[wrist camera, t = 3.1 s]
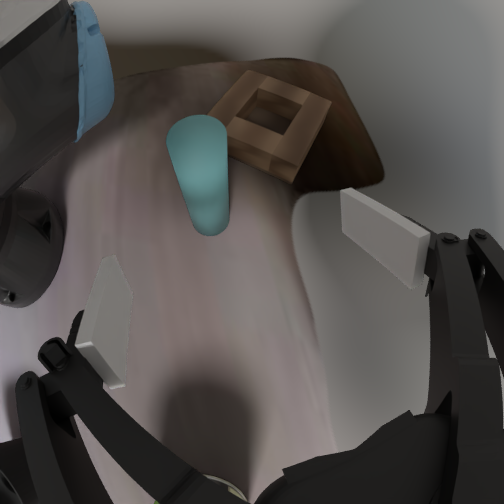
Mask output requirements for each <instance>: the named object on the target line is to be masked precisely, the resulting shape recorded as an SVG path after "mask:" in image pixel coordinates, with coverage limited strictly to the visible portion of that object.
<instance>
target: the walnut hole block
mask: <svg viewBox="0 0 504 504" xmlns="http://www.w3.org/2000/svg"><path fill="white" fill-rule="evenodd" d="M331 103H332V102H331V101H329V100H327V99H325V98H322V97H320V96H318V95H316V94H313V93H311V92H308V91H306V90H304V89H301V88H299V87H296V86H294V85H291V84H289V83H286V82H283V81H281V80H278V79H275V78H272V77H269V76H267V75H264V74H261V73H258V72H255V71H252V70H247V71H246V72H245V73H244V74H243V75H242V76H241V77H240V78H239V79H238V80H237V81H236V82H235V83H234V85H233V86H232V87H231V88H230V89H229V90H228V91H227V92H226V93H225V94H224V96H223V97H222V98H221V99H220V100H219V101H218V102H217V103H216V105H215V106H214V107H213V108H212V109H211V110H210V112H209V113H208V114H207V116H211V117H214V118H216V119H218V120H219V121H220V122H221V123H222V124H223V125H224V126H225V128H226V131H227V156H229V157H231V158H233V159H236V160H238V161H240V162H243V163H245V164H247V165H250V166H252V167H254V168H256V169H258V170H261V171H263V172H265V173H267V174H269V175H272V176H274V177H276V178H278V179H280V180H282V181H284V182H286V183H288V184H292V182H293V181H294V179H295V177H296V175H297V173H298V171H299V169H300V167H301V165H302V163H303V161H304V159H305V157H306V156H307V154H308V152H309V150H310V148H311V146H312V144H313V142H314V140H315V138H316V136H317V134H318V132H319V130H320V129H321V127H322V125H323V123H324V121H325V118H326V116H327V113H328V111H329V108H330V106H331Z"/></svg>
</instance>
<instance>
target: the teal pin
mask: <svg viewBox="0 0 504 504" xmlns="http://www.w3.org/2000/svg"><path fill="white" fill-rule="evenodd" d="M166 145H167V148H168V151H169V155H170V158H171V161H172V164H173V167H174V170H175V173H176V176H177V179H178V182H179V185H180V188H181V191H182V194H183V197H184V200H185V203H186V206H187V209H188V211H189V214H190V217H191V220H192V223H193V226H194V228H195V229H196V230H197V231H198V232H199V233H201V234H203V235H206V236H214V235H218V234H220V233H221V232H223V231H224V230H225V229H226V227H227V225H228V223H229V196H228V160H227V131H226V128H225V126H224V125H223V124H222V123H221V122H220V121H219V120H218V119H216V118H214V117H211V116H207V115H193V116H189V117H186V118H183V119H181V120H180V121H178V122H177V123H175V124H174V125H173V126H172V127H171V129H170V130H169V132H168V134H167V137H166Z"/></svg>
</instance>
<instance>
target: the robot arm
mask: <svg viewBox="0 0 504 504" xmlns="http://www.w3.org/2000/svg"><path fill="white" fill-rule="evenodd" d="M113 102H114V81H113V74H112V69H111V64H110V60H109V55H108V52H107V48H106V44H105V41H104V37H103V35H102V34H101V33H100V28H99V24H98V20H97V17H96V14H95V12H94V10H93V9H92V7H91V6H90V4H89V3H88V2H85V1H80V2H73V3H71V5H69V4H68V1H67V0H0V304H2V305H5V306H9V307H14V308H22V307H26V306H28V305H30V304H32V303H34V302H35V301H36V300H37V299H39V298H40V297H41V296H42V294H43V293H44V292H45V291H46V290H47V288H48V287H49V285H50V283H51V282H52V280H53V278H54V276H55V273H56V271H57V268H58V265H59V262H60V258H61V254H62V248H63V226H62V221H61V217H60V215H59V212H58V210H57V209H56V207H55V206H54V205H53V204H52V203H51V202H50V201H49V200H48V199H47V198H46V197H44V196H43V195H42V194H40V193H38V192H36V191H33V190H29V189H25V188H21V187H19V186H20V185H21V184H22V183H23V182H24V181H25V180H26V179H27V178H29V177H30V176H31V175H32V174H33V173H34V172H35V171H37V170H38V169H39V168H40V167H41V166H42V165H44V164H45V163H46V162H47V161H48V160H50V159H51V158H52V157H53V156H55V155H56V154H57V153H59V152H60V151H61V150H62V149H64V148H65V147H66V146H68V145H69V144H70V143H72V142H74V143H75V142H77V141H79V139H80V138H81V137H82V135H83V134H84V133H85V132H87V131H88V130H89V129H91V128H92V127H94V126H95V125H96V124H98V123H99V122H101V121H102V120H103V119H104V118H105V117H106V116H107V115H108V114H109V112H110V110H111V108H112V106H113ZM340 197H341V217H342V232H343V233H344V234H345V235H347V236H348V237H349V238H351V239H352V240H353V241H354V242H355V243H357V244H358V245H359V246H360V247H362V248H363V249H364V250H365V251H366V252H368V253H369V254H370V255H372V256H373V257H374V258H375V259H376V260H377V261H378V262H380V263H381V264H382V265H383V266H384V267H385V268H387V269H388V270H389V271H390V272H391V273H392V274H394V275H395V276H396V277H397V278H398V279H399V280H401V281H402V282H403V283H404V284H405V285H406V286H407V287H409V289H411V290H412V289H414V288H416V287H418V286H420V285H421V284H422V282H423V277H424V274H426V275H427V276H428V277H429V281H428V286H427V290H426V295H425V297H427V296H428V293H429V307H430V338H431V339H430V340H431V341H430V376H429V392H428V401H427V406H426V409H425V412H424V414H419V415H415V416H413V415H412V413H411V412H410V410H408V411H407V412H405V413H403V414H402V415H400V416H398V417H397V418H395V419H393V420H392V421H390V422H388V423H386V424H384V425H383V426H381V427H380V428H379V429H378V430H377V431H376V432H375V433H374V434H373V435H372V436H370V437H369V438H368V439H367V440H366V441H364V442H363V443H362V444H361V445H359V446H358V447H357V448H355V449H353V450H349V451H344V452H340V453H335V454H329V455H324V456H318V457H315V458H312V459H309V460H307V461H304V462H301V463H299V464H296V465H293V466H290V467H287V468H284V469H282V470H283V473H284V475H285V476H284V475H283V476H282V477H280V478H279V479H277V480H276V481H274V482H273V483H272V484H270V485H269V486H268V487H267V488H266V489H265V490H264V491H263V492H262V493H261V494H260V496H259V497H258V498H257V500H256V501H255V503H254V504H504V429H503V401H502V387H501V377H500V368H501V371H502V374H503V377H504V250H503V249H502V248H501V247H500V245H499V244H498V243H497V242H496V241H495V239H494V238H493V237H492V236H491V235H490V234H489V233H488V232H486V231H484V230H483V229H482V230H481V229H472V230H470V233H469V238H468V239H464V240H460V238H459V237H457V236H456V235H453V234H451V233H440V234H436V233H434V232H433V231H431V230H429V229H428V228H426V227H424V226H423V225H421V224H419V223H418V222H416V221H414V220H413V219H411V218H409V217H407V216H403V215H400V214H398V213H396V212H395V211H393V210H391V209H389V208H387V207H386V206H384V205H382V204H380V203H378V202H377V201H375V200H373V199H371V198H369V197H367V196H366V195H364V194H362V193H360V192H358V191H356V190H354V189H352V188H348V189H343V190H340ZM484 268H485V275H484V274H483V272H484ZM132 302H133V292H132V290H131V288H130V286H129V284H128V282H127V280H126V278H125V276H124V274H123V271H122V269H121V267H120V265H119V263H118V260H117V258H116V256H115V254H113V255H110V256H107V257H104V258H102V261H101V264H100V266H99V269H98V272H97V275H96V277H95V280H94V283H93V286H92V289H91V292H90V295H89V298H88V301H87V304H86V307H85V310H82V311H79V313H78V314H77V315H76V317H75V318H74V320H73V323H72V326H71V327H72V328H71V330H70V335H69V336H68V340H67V343H66V344H65V343H64V341H63V340H62V339H61V338H59V337H54V338H51V339H49V340H48V341H46V342H45V343H44V344H43V345H42V346H41V348H40V350H39V352H38V360H39V361H40V362H41V363H42V364H43V366H44V367H45V368H46V369H47V370H48V371H49V373H47V374H45V375H43V376H41V377H40V378H39V377H38V376H37V375H36V374H35V373H34V372H32V371H28V372H26V373H24V374H23V375H21V376H20V378H19V379H18V381H17V383H16V387H15V392H16V402H17V410H18V417H19V424H20V430H21V435H22V440H23V445H24V450H25V454H26V458H27V462H28V466H29V470H30V474H31V477H32V481H33V484H34V487H35V490H36V493H37V496H38V499H39V502H40V504H114V503H113V502H112V500H111V498H110V496H109V495H108V493H107V491H106V489H105V487H104V485H103V483H102V481H101V479H100V477H99V475H98V473H97V471H96V469H95V467H94V465H93V463H92V461H91V458H90V456H89V454H88V452H87V449H86V447H85V445H84V442H83V440H82V437H81V435H80V432H79V430H78V427H77V424H76V421H75V419H74V416H73V415H75V414H78V416H79V417H80V418H81V420H82V421H83V422H84V424H85V425H86V426H87V428H88V429H89V430H90V432H91V433H92V434H93V435H94V437H95V438H96V439H97V440H98V441H99V443H100V444H101V445H102V446H103V447H104V448H105V450H106V451H107V452H108V453H109V454H110V455H111V456H112V458H113V459H114V460H115V461H116V462H117V463H118V464H119V465H120V466H121V467H122V468H123V469H124V470H125V471H126V472H127V474H128V475H129V476H130V477H131V478H132V479H133V480H135V481H136V482H137V483H138V484H139V485H140V486H141V487H142V488H143V489H144V490H145V491H146V492H147V493H148V494H149V495H150V496H152V497H153V498H154V499H155V500H156V501H157V502H158V503H159V504H250V503H248V502H247V501H245V500H243V499H241V498H239V497H238V496H236V495H234V494H233V493H231V492H229V491H228V490H226V489H224V488H223V487H221V486H220V485H218V484H216V483H215V482H213V481H212V480H210V479H209V478H207V477H206V476H204V475H203V474H201V473H200V472H198V471H197V470H195V469H194V468H192V467H191V466H190V465H188V464H187V463H186V462H184V461H183V460H182V459H180V458H179V457H178V456H176V455H175V454H174V453H172V452H171V451H170V450H169V449H167V448H166V447H165V446H164V445H162V444H161V443H160V442H159V441H158V440H156V439H155V438H154V437H153V436H152V435H151V434H149V433H148V432H147V431H146V430H145V429H144V428H143V427H141V426H140V425H139V424H138V423H137V422H136V421H135V420H134V419H133V418H132V417H131V416H130V415H129V414H127V413H126V412H125V411H124V410H123V409H122V408H121V407H120V406H119V405H118V404H117V403H116V402H115V401H114V400H113V399H112V398H111V397H110V396H109V394H108V393H107V392H106V391H105V390H104V389H103V381H104V382H105V384H106V385H107V386H108V387H109V388H110V389H114V388H119V387H124V386H126V368H127V352H128V340H129V329H130V319H131V310H132ZM485 331H486V333H487V335H488V337H489V340H490V342H491V345H492V347H493V350H494V352H495V355H496V358H497V359H496V358H489V354H488V346H487V340H486V333H485ZM499 366H500V368H499Z"/></svg>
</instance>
